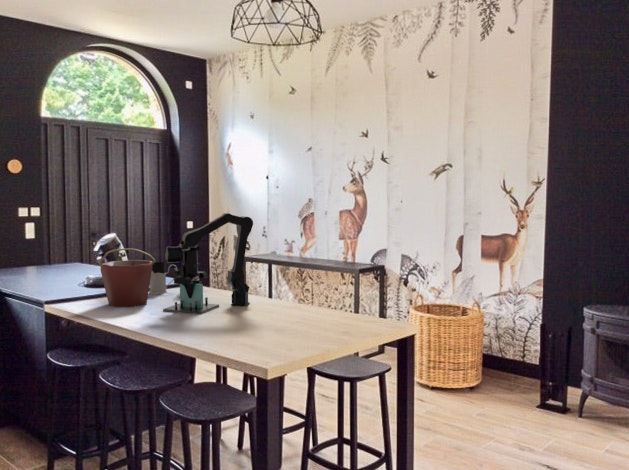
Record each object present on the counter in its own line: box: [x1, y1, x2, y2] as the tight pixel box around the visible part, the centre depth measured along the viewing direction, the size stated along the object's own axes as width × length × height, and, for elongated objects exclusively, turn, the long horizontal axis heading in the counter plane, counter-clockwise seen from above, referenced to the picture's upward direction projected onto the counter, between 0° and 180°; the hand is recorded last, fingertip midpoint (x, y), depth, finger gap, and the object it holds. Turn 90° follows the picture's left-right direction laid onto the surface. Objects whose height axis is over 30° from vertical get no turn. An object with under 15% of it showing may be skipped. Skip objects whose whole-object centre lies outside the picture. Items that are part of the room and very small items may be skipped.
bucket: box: [96, 247, 156, 308], centre depth 262 cm, size 24×22×25 cm
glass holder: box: [148, 261, 178, 295], centre depth 291 cm, size 9×14×15 cm, turn 115°
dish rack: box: [162, 296, 220, 315], centre depth 249 cm, size 18×16×4 cm
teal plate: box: [179, 283, 204, 308], centre depth 249 cm, size 10×2×10 cm, turn 72°
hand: (191, 297), depth 249 cm, fingers open, 2 cm apart
